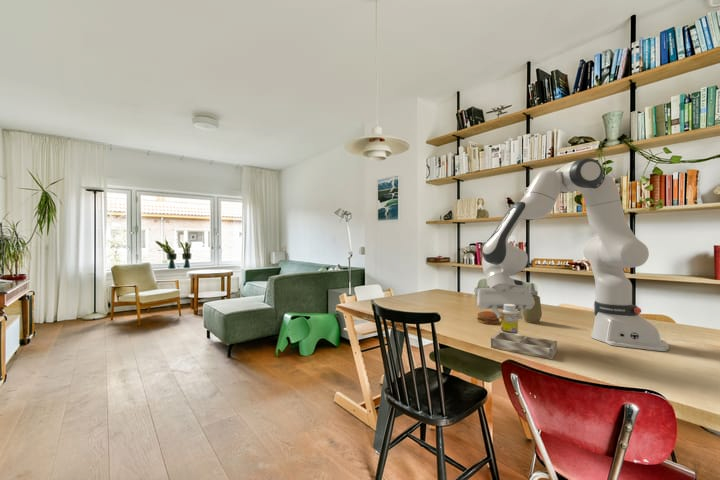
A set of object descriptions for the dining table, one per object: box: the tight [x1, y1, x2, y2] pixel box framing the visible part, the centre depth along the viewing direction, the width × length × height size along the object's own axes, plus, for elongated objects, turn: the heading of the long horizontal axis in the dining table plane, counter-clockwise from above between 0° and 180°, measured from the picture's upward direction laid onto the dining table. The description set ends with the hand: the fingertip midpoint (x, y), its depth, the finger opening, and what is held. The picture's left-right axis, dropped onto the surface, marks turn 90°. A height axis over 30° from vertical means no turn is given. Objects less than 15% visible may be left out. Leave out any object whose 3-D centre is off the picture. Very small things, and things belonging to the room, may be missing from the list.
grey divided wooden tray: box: [490, 331, 558, 360], centre depth 115 cm, size 19×10×3 cm, turn 51°
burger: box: [476, 311, 500, 325], centre depth 151 cm, size 10×9×5 cm
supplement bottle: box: [500, 304, 519, 335], centre depth 117 cm, size 6×6×10 cm
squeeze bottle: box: [522, 282, 543, 324], centre depth 151 cm, size 8×8×18 cm
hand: (510, 317), depth 117 cm, fingers closed on supplement bottle, 5 cm apart
